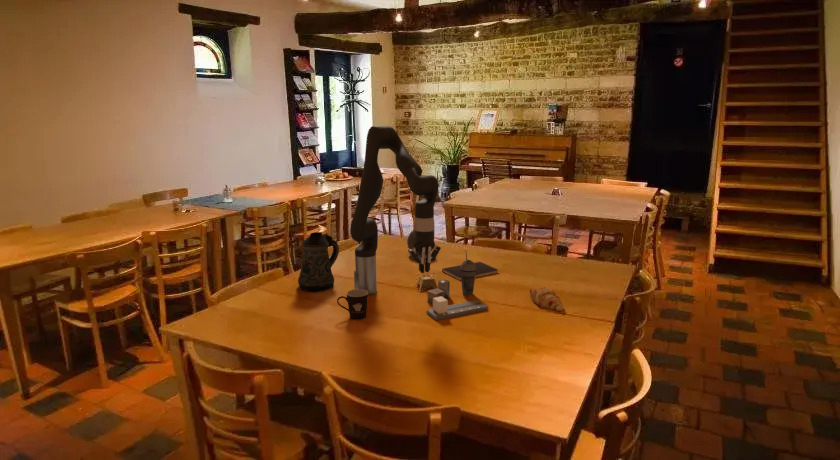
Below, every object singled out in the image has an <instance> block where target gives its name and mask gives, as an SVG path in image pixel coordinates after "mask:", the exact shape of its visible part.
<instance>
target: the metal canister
mask: <svg viewBox="0 0 840 460" xmlns="http://www.w3.org/2000/svg"><path fill="white" fill-rule="evenodd" d="M450 284H451V283H450V280H448V279H440V280H438V281H437V289H439V290H442V291H444V298H445V299H446V300H448V299H449V298H450V292H451V291H450V288H451V287H450Z"/></svg>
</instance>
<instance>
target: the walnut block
mask: <svg viewBox="0 0 840 460" xmlns="http://www.w3.org/2000/svg"><path fill="white" fill-rule="evenodd" d="M441 296H442V297H443V298H444V291H442V290H439V289H438V287H437V288H433V289H429V290H427V303H429V304H430V305H431V304H432V305H433V298H435V297H441Z"/></svg>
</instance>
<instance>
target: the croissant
mask: <svg viewBox="0 0 840 460" xmlns="http://www.w3.org/2000/svg"><path fill="white" fill-rule="evenodd" d="M529 294H530V298H531V300H532V301H533V303H535V304H537V305H538V306H540V307H541V308H547V309H550V310H551V309H552V310H554V311H558V312H559V311H562V310H563V309H564V307H563V306H564V304H563V302H562V300H561V299H560V297H559V296H558V295H556V294H557V293H555V291H554V290H553V289H550V288H549V287H548V288H547V287H542V288H541V287H540V288H534V289H533V288H532V289H531V288H530V289H529Z"/></svg>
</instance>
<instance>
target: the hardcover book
mask: <svg viewBox="0 0 840 460" xmlns="http://www.w3.org/2000/svg"><path fill="white" fill-rule="evenodd" d="M474 263H475V265H476V274H475V278H478V277H479V278H480V277H483V276H488V275H494V274H498V271H499V269H498V268H495V267H493V266H491V265H489V264H486V263H484V262H481V261H477V262H475V261H474ZM460 267H461V264H460V265H459V264H458V265H455V266H449V267H443V268H441V272H443V273H445V274H447V275H449V276H451V277H452V278H454V279H456V280H458V281H462V279H461V272H460Z"/></svg>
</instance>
